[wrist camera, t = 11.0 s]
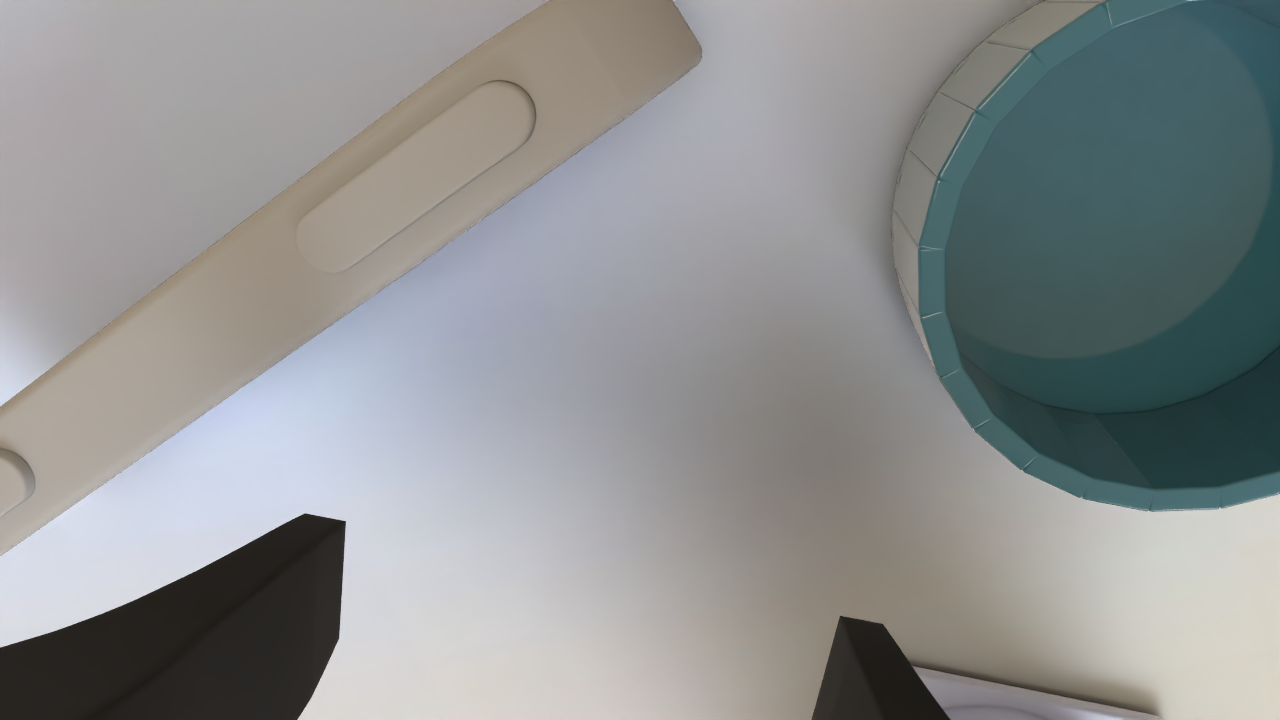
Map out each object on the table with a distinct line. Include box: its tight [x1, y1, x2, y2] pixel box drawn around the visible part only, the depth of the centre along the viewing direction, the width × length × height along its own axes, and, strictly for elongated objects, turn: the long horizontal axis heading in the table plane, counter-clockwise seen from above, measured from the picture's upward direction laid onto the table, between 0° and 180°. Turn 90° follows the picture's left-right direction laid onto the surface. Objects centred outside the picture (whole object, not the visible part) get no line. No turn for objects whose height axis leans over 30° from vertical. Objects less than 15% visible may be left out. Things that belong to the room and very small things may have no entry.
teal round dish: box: [891, 0, 1280, 512], centre depth 20 cm, size 10×10×4 cm
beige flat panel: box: [0, 0, 702, 556], centre depth 20 cm, size 20×2×8 cm, turn 125°
